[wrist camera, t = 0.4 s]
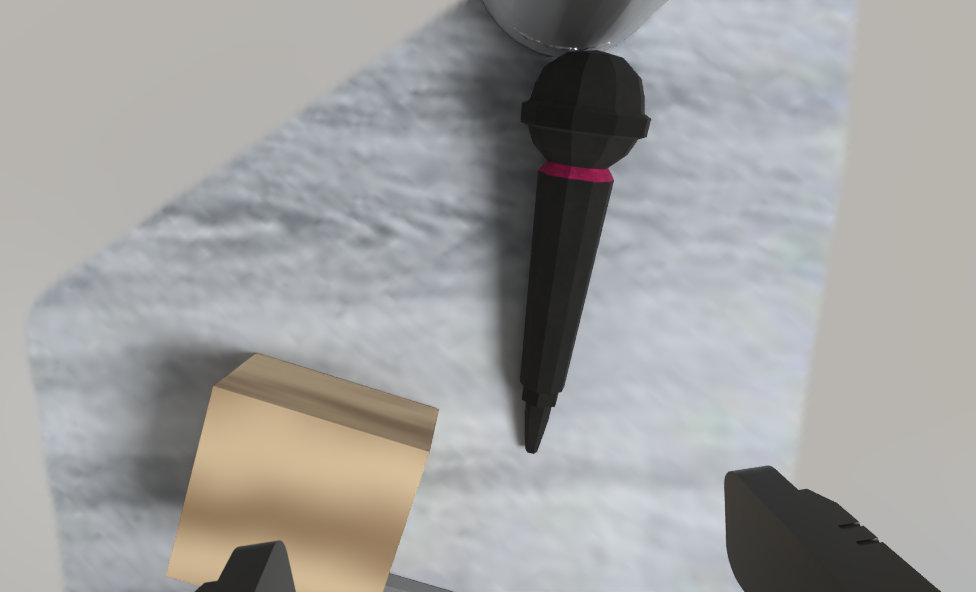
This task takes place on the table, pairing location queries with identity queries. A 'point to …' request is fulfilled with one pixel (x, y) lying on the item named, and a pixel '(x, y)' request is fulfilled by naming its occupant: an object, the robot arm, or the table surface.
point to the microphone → (570, 207)
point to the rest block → (302, 476)
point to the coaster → (408, 585)
